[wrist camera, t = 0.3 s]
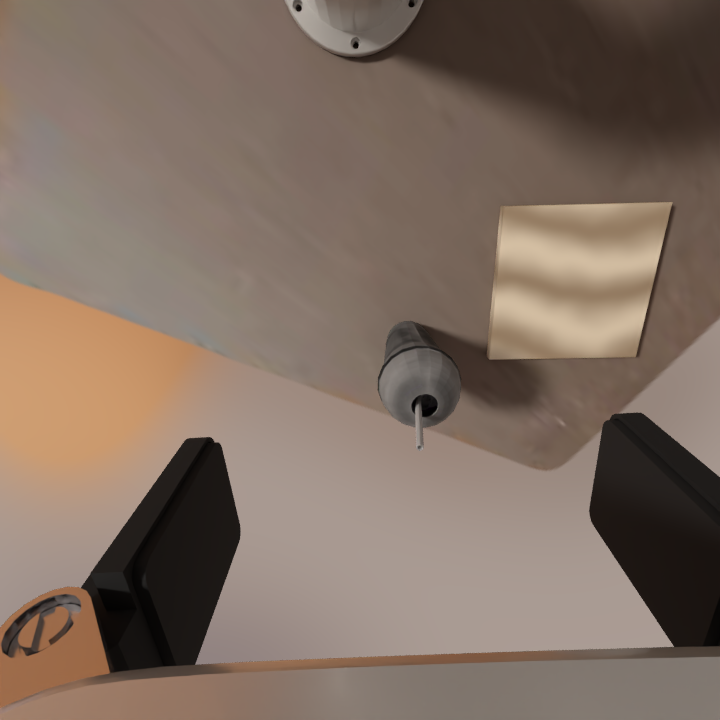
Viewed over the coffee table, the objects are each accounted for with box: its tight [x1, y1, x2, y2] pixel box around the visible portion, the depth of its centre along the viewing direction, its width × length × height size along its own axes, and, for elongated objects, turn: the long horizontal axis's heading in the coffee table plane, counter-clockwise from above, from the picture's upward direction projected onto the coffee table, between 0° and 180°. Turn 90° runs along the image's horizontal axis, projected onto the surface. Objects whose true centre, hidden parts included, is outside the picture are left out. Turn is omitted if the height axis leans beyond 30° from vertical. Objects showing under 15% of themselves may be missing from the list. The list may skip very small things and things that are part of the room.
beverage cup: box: [378, 321, 461, 451], centre depth 39 cm, size 7×7×20 cm
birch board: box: [487, 202, 672, 360], centre depth 45 cm, size 16×16×1 cm
